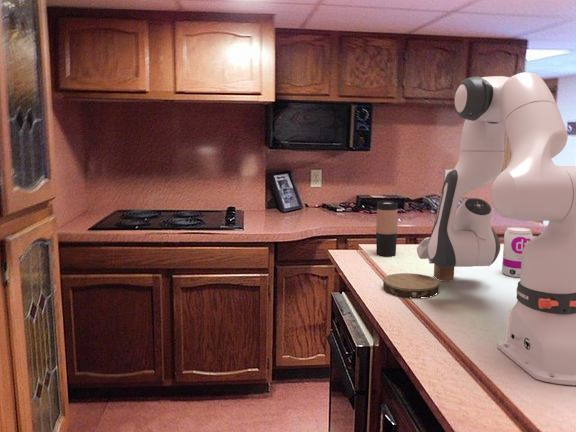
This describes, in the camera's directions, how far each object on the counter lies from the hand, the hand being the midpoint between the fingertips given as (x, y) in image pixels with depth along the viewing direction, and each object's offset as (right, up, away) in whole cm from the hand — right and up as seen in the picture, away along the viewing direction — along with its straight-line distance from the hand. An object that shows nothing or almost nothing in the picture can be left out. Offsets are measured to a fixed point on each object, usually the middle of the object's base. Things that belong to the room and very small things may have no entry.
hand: (443, 261), depth 158 cm
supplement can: (+25, -5, +4) cm, 25 cm away
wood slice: (-13, -8, -10) cm, 18 cm away
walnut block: (0, -5, 0) cm, 5 cm away
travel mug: (-12, -1, +31) cm, 33 cm away
